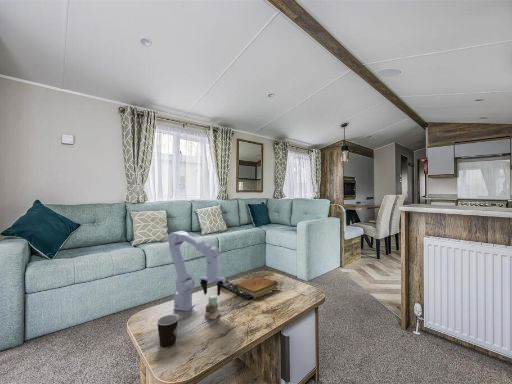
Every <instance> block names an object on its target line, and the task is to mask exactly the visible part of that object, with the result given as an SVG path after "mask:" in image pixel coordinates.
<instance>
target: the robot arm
mask: <svg viewBox="0 0 512 384" xmlns="http://www.w3.org/2000/svg"><path fill="white" fill-rule="evenodd" d="M166 240H167V241H168V242H167V243H168V248H169V252H170V255H171V259H172V262H173V265H174V268H175V273H176V276H177V278H176V280H175V290H176V292H175V294H174V297H173V299H174V300H173V310H174V311H184V312H189V311H190V310H191V309H193V307H194V306H195V305H196V304H195V303H193V289H194V287H195V285H196V284H195V280H194V279H193V278H192V275H191V274H189V273H188V271H187V268H186V265H185V261H184V259H183V255H182V252H181V249H180V247H181V246H182V244H184V243H187V244H189V245H192V246H193V247H195V250H196V251H198V252H199V253H201V254H203V255H204V257H205V259H206V275H201V276H199V278H198V280H199V282H200V283H199V284H200V285H201V287H202V290H203V295H204V296H205V295H207V293H208V282H215V283H216V282H217V283H216V287H217V292H216V293H217V295H216V296H217V297H219V296H220V295H221V291H222V287H223V284H224V283H226V277H222V276H218V257H219V255H220V248H219V247H217V246H215V245H214V246H212V245H211V244H209V243H207V242H206V241H205V240H200V241H199V240H198V239H197V238H195V237H193V236H191V235H190V234H189V232H188V231H185V230H180V231H175V232H173V231H172V232H170V233H169V234H168V236H167V239H166Z"/></svg>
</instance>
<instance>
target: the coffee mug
mask: <svg viewBox="0 0 512 384" xmlns="http://www.w3.org/2000/svg"><path fill="white" fill-rule="evenodd" d="M156 323H157V325H156V326H157V333H158V339H159V346H160V347H161V348H171V347H172V346H175V344H176V340H177V331H178V323H179V317H178V316H177V314H167V315H164V316H163V315H162V317H161V316H160V317H159V318H158V320H157V321H156Z"/></svg>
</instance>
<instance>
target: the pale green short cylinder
mask: <svg viewBox="0 0 512 384" xmlns="http://www.w3.org/2000/svg"><path fill="white" fill-rule="evenodd" d="M208 303H209V306H211V307H214V306H216V305H217V303H218V295H210V296H209V297H208Z"/></svg>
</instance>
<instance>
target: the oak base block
mask: <svg viewBox="0 0 512 384" xmlns="http://www.w3.org/2000/svg"><path fill="white" fill-rule="evenodd" d="M219 315H220V308H219V307H218V309H217V310H216V312H215V313H208V312H206V311H205V312H204V318H205V319H211V320H212V319H213V320H216V319H217V317H218V316H219Z"/></svg>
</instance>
